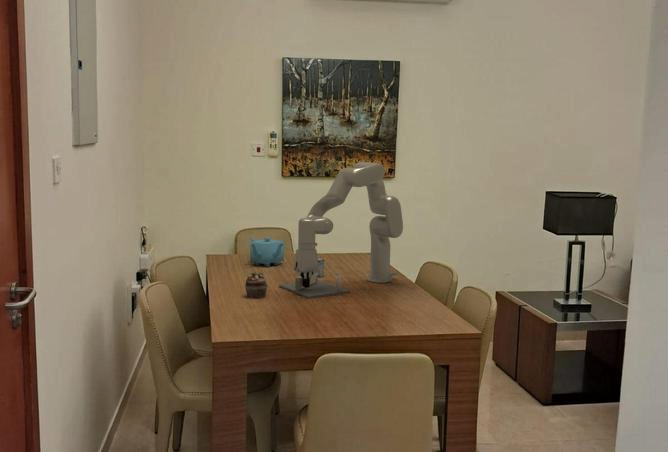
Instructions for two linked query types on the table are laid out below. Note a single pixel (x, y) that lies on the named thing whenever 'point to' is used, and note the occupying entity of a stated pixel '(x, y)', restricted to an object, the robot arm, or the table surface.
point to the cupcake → (256, 286)
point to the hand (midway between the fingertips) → (306, 286)
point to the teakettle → (266, 251)
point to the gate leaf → (299, 281)
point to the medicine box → (320, 268)
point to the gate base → (317, 289)
